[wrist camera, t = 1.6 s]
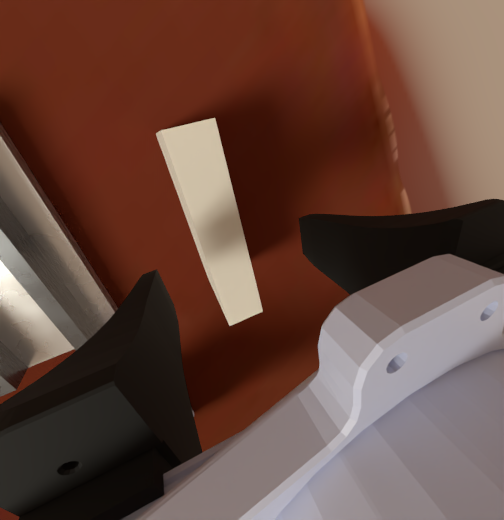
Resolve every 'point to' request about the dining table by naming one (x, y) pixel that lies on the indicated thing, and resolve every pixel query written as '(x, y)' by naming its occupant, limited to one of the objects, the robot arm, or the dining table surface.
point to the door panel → (212, 214)
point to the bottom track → (40, 276)
